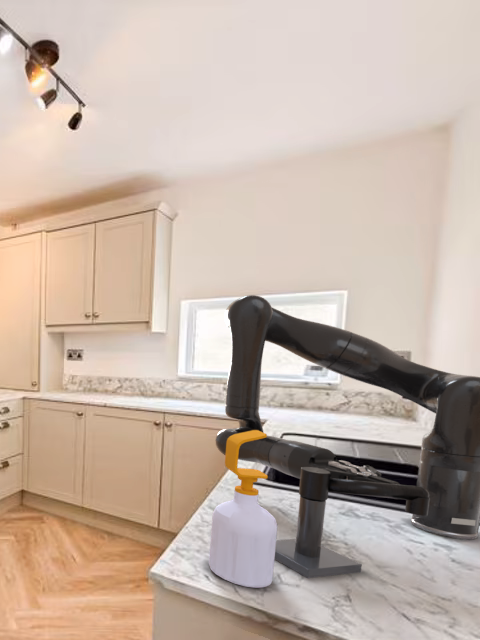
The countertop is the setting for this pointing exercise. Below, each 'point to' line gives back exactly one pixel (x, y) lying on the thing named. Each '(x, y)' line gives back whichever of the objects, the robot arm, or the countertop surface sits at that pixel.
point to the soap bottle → (243, 526)
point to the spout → (361, 489)
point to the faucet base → (314, 564)
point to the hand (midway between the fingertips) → (395, 489)
